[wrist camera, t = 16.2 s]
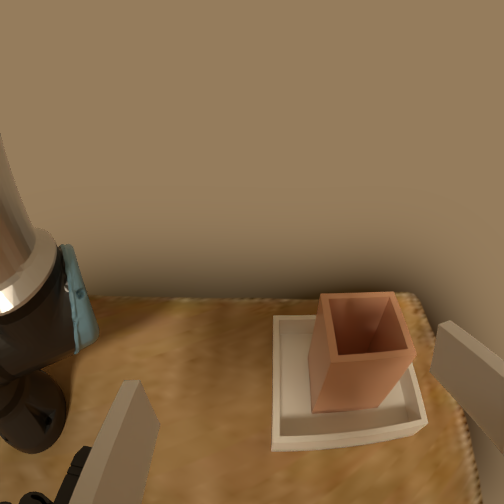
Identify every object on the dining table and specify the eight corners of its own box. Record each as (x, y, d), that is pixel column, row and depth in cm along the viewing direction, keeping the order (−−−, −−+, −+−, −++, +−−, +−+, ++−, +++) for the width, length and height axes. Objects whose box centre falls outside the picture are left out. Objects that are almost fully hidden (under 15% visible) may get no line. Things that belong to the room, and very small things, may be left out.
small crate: (311, 413, 32) (330, 362, 24) (307, 357, 39) (320, 293, 31) (377, 407, 31) (416, 354, 24) (366, 354, 38) (393, 291, 31)
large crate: (271, 451, 29) (272, 442, 26) (272, 334, 44) (273, 315, 41) (413, 435, 28) (428, 423, 25) (386, 329, 43) (394, 311, 40)
